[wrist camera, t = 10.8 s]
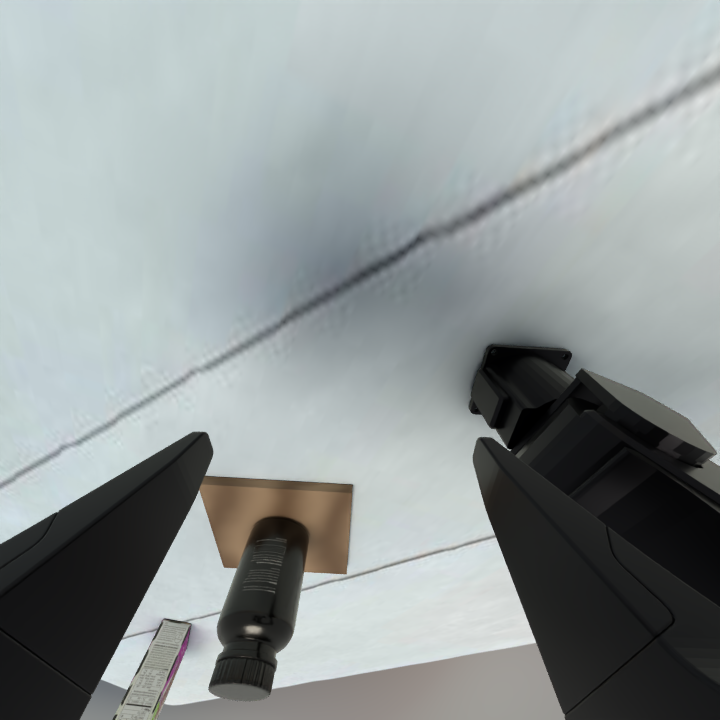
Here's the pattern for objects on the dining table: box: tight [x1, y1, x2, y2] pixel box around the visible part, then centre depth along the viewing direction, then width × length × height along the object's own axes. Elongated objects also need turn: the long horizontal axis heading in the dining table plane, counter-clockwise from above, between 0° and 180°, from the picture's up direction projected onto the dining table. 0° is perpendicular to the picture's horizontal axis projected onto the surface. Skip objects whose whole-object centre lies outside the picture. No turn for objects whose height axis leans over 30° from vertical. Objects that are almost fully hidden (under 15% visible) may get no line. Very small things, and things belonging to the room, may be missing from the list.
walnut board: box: [199, 476, 353, 574], centre depth 32 cm, size 16×16×1 cm
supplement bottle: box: [208, 518, 309, 701], centre depth 26 cm, size 7×7×12 cm
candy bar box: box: [113, 619, 191, 720], centre depth 40 cm, size 11×5×16 cm, turn 160°
